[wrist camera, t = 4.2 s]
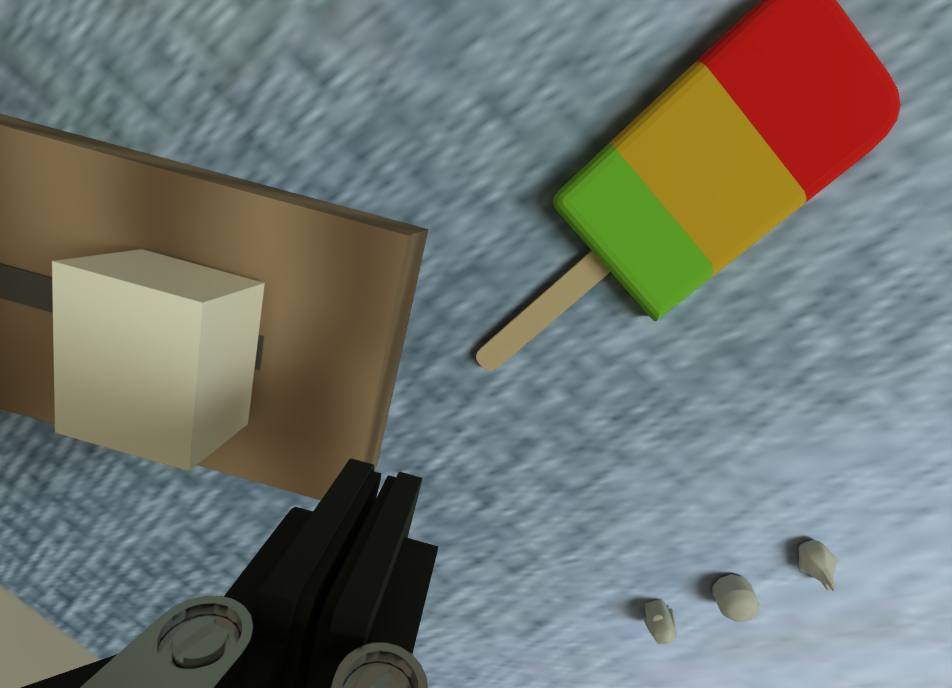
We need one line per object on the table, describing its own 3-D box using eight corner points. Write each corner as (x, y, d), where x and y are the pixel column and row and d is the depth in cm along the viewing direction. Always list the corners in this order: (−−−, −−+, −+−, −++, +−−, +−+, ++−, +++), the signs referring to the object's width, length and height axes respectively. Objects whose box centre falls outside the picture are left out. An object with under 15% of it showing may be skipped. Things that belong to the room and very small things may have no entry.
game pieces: (819, 526, 20) (850, 561, 18) (835, 567, 20) (866, 604, 18) (629, 586, 21) (638, 623, 19) (647, 622, 22) (658, 661, 20)
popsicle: (883, 122, 16) (929, 112, 14) (530, 405, 20) (529, 426, 18) (779, -19, 15) (813, -49, 13) (434, 306, 19) (424, 317, 17)
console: (428, 229, 17) (408, 235, 14) (376, 465, 20) (351, 511, 17) (-296, 34, 18) (-457, 2, 15) (-242, 290, 21) (-367, 305, 18)
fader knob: (264, 283, 15) (202, 302, 12) (248, 424, 17) (189, 470, 14) (142, 249, 15) (52, 261, 12) (136, 392, 17) (54, 432, 14)
